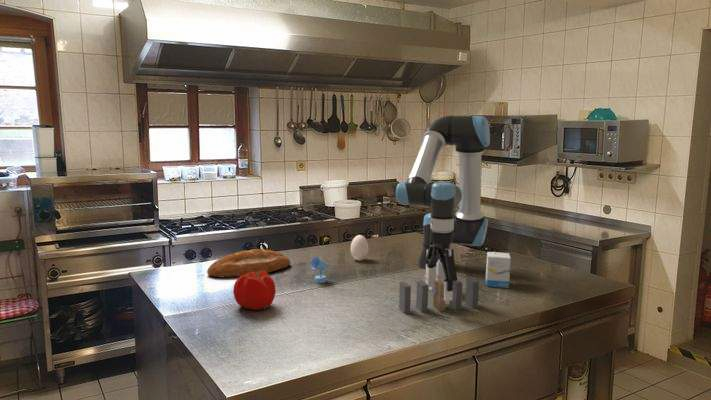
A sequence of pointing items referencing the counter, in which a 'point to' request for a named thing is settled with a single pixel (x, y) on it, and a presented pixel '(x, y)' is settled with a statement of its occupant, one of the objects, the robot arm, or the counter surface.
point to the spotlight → (319, 265)
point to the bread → (248, 263)
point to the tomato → (254, 290)
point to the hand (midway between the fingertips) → (439, 293)
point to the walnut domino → (438, 295)
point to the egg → (359, 247)
